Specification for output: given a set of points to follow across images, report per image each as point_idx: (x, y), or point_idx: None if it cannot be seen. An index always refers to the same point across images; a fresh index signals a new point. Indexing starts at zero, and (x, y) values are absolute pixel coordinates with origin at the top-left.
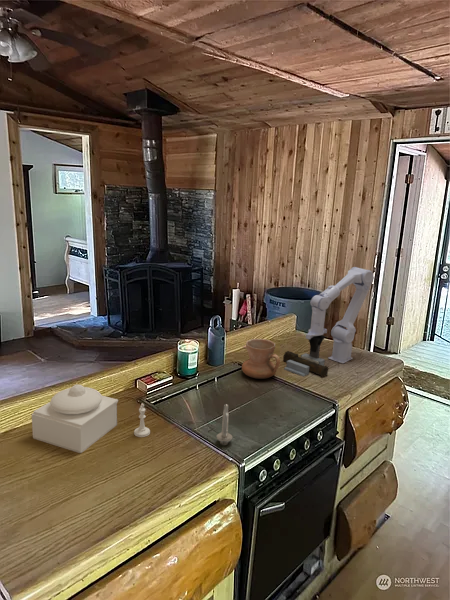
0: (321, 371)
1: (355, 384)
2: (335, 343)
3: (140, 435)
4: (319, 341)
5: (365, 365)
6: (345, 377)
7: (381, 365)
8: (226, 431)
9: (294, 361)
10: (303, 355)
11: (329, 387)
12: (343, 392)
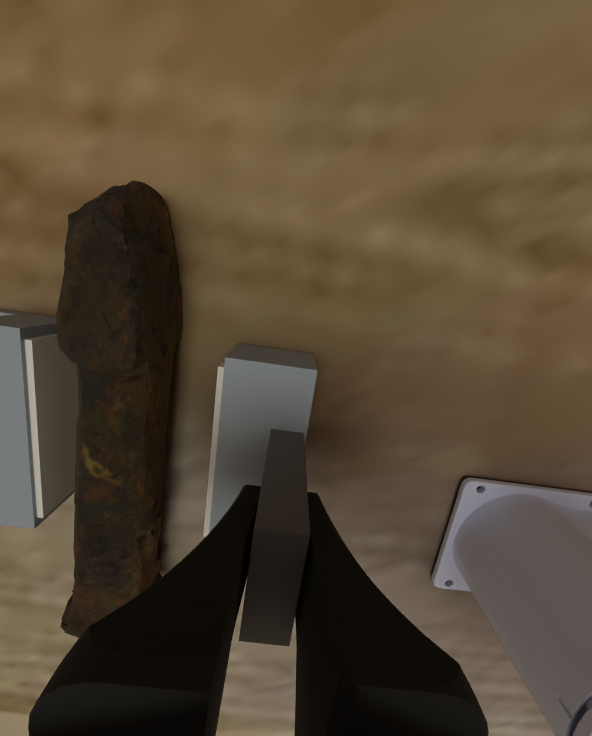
0: (68, 601)
1: None
2: (578, 677)
3: None
4: (297, 699)
5: (491, 672)
6: None
7: (546, 725)
8: None
9: (18, 383)
10: (239, 379)
11: (16, 635)
12: (26, 696)
